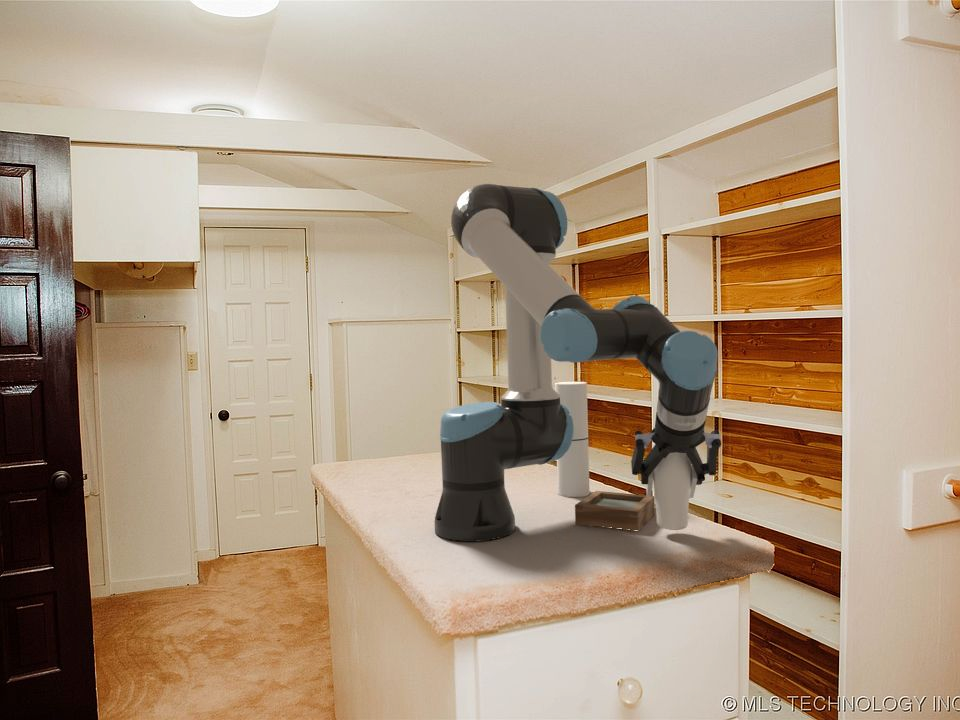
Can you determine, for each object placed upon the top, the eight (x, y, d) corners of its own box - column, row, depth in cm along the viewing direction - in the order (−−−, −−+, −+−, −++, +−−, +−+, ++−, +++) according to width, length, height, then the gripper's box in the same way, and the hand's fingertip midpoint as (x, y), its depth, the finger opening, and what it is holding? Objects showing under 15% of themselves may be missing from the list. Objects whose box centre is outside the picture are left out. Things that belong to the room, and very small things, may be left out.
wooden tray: (637, 531, 120) (637, 511, 120) (575, 524, 126) (574, 504, 125) (654, 514, 130) (654, 496, 130) (596, 508, 136) (595, 490, 136)
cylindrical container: (586, 497, 145) (583, 384, 144) (554, 496, 147) (551, 384, 146) (591, 490, 152) (589, 381, 151) (561, 488, 154) (558, 381, 153)
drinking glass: (665, 534, 113) (665, 447, 112) (645, 523, 120) (644, 440, 119) (700, 529, 115) (699, 444, 114) (677, 519, 121) (677, 438, 121)
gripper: (618, 433, 103) (615, 508, 120) (751, 433, 100) (728, 510, 116) (616, 396, 108) (613, 472, 124) (742, 394, 105) (722, 473, 121)
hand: (669, 490), depth 120 cm, fingers closed on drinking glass, 7 cm apart
